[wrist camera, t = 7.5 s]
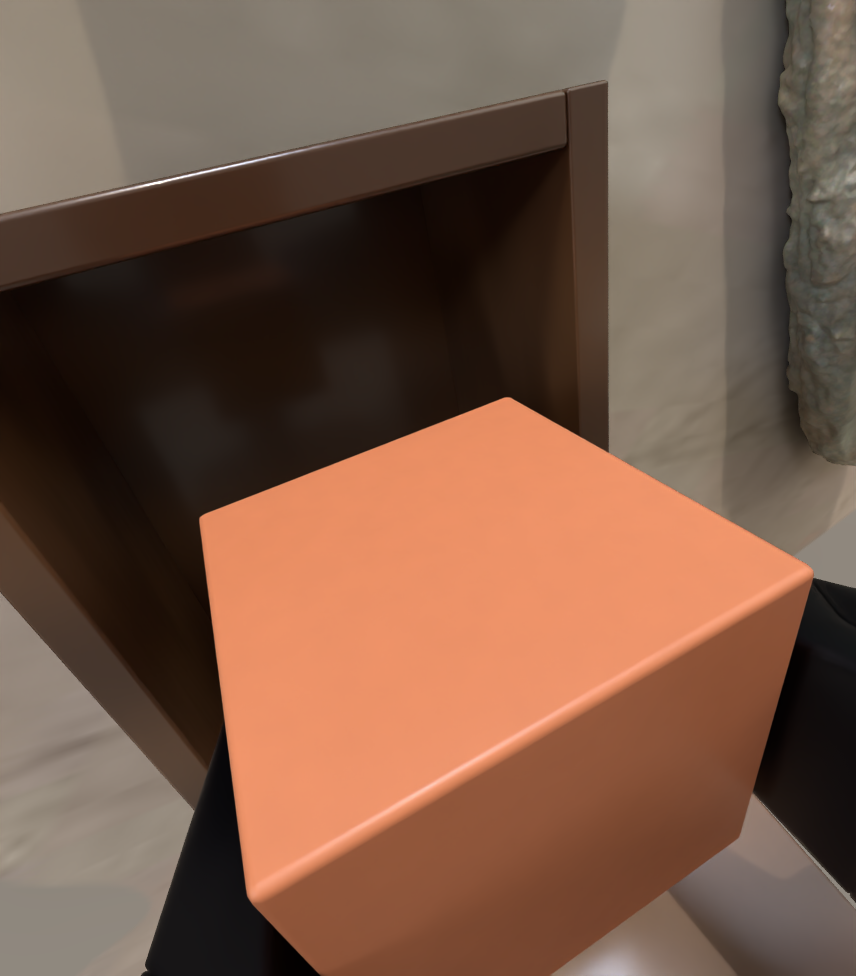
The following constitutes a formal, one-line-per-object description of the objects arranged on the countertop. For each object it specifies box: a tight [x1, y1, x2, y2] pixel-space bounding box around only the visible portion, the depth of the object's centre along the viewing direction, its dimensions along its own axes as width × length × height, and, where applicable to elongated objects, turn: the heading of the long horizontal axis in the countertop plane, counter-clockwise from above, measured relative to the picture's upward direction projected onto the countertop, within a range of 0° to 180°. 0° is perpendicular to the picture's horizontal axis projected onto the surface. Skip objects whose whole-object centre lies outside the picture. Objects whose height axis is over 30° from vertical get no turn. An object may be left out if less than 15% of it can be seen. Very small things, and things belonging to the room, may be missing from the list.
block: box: [199, 397, 814, 976], centre depth 7 cm, size 5×5×5 cm
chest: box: [0, 80, 609, 811], centre depth 14 cm, size 14×12×7 cm
